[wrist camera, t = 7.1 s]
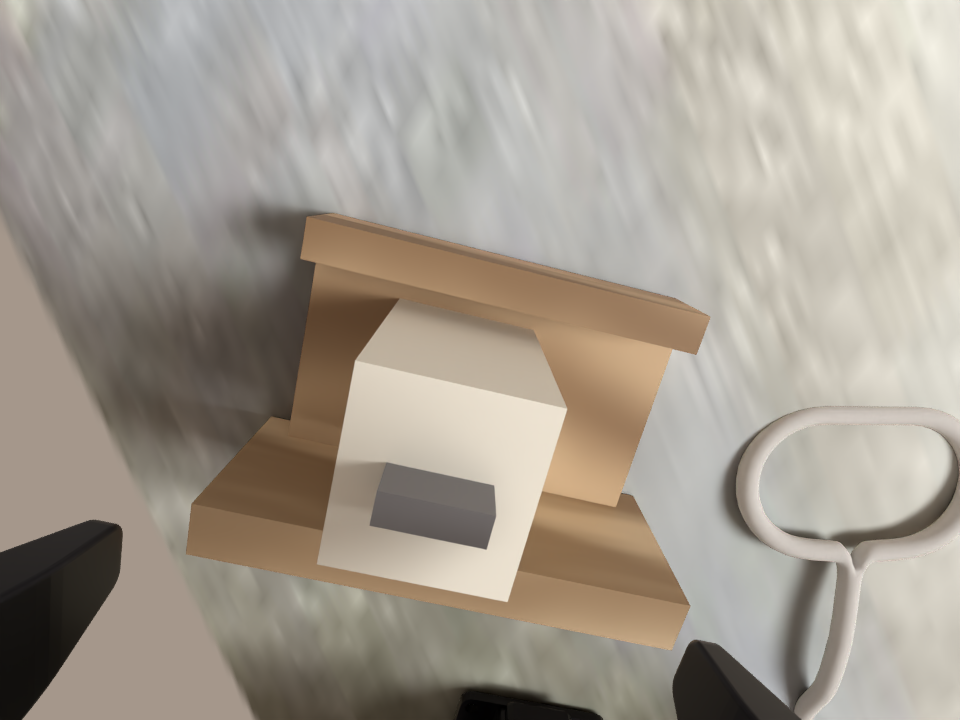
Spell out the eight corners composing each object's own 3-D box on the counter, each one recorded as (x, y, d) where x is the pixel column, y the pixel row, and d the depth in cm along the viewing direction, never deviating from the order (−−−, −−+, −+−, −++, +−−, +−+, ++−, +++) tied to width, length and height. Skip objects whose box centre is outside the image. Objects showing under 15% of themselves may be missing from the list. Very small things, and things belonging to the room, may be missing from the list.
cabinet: (496, 463, 20) (510, 641, 12) (371, 436, 19) (301, 601, 12) (533, 330, 18) (577, 432, 10) (399, 298, 18) (341, 379, 10)
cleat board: (620, 530, 22) (671, 650, 16) (265, 454, 21) (185, 554, 15) (702, 305, 19) (798, 352, 14) (303, 205, 18) (224, 210, 13)
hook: (682, 805, 26) (711, 388, 23) (880, 804, 26) (932, 390, 24) (762, 1004, 19) (817, 436, 16) (1034, 1003, 19) (1136, 439, 16)
